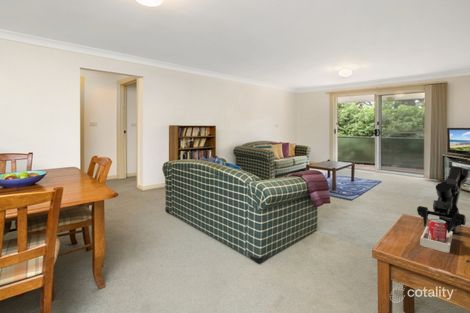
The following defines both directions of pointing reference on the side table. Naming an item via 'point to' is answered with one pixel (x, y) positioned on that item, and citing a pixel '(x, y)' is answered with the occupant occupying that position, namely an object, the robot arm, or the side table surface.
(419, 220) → the side table surface
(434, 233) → the soda can
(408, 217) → the side table surface
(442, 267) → the side table surface
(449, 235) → the can carrier
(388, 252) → the side table surface
